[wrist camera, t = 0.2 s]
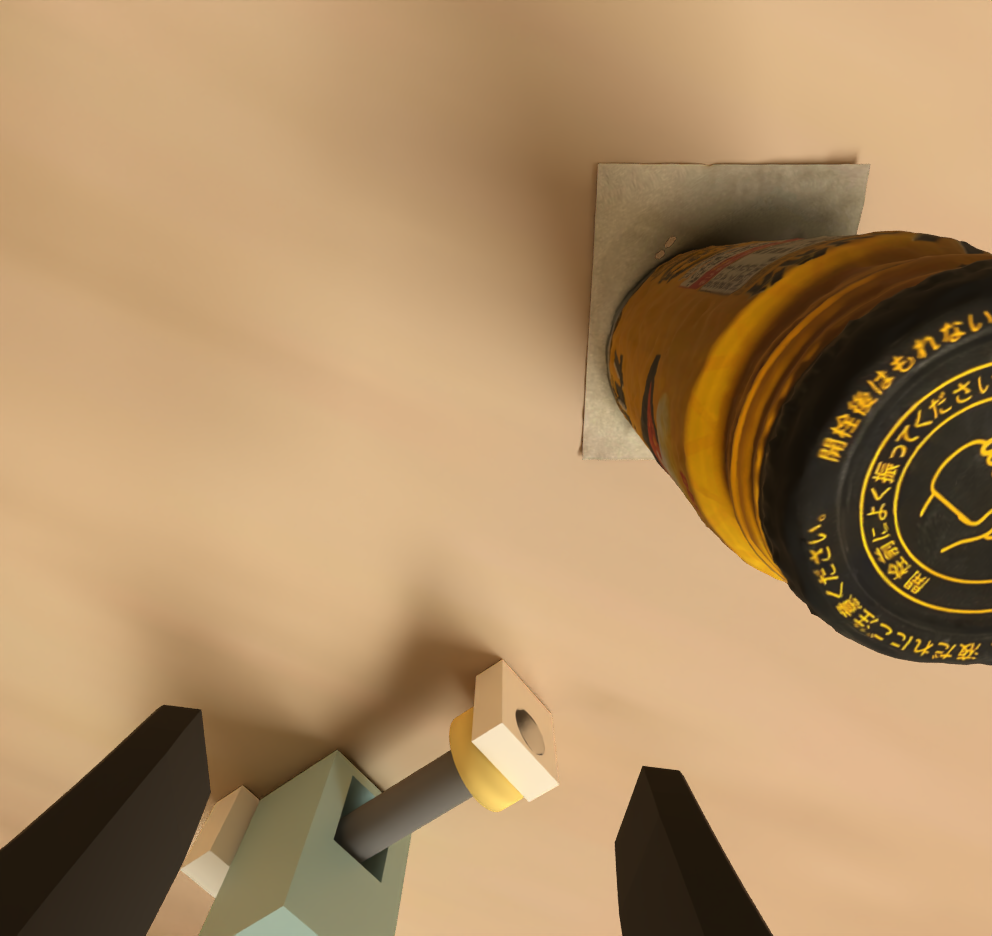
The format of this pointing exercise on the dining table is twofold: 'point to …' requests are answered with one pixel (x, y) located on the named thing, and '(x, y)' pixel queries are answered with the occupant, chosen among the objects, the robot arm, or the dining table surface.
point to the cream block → (514, 731)
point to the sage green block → (309, 865)
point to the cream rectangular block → (220, 840)
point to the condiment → (805, 389)
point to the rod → (429, 794)
